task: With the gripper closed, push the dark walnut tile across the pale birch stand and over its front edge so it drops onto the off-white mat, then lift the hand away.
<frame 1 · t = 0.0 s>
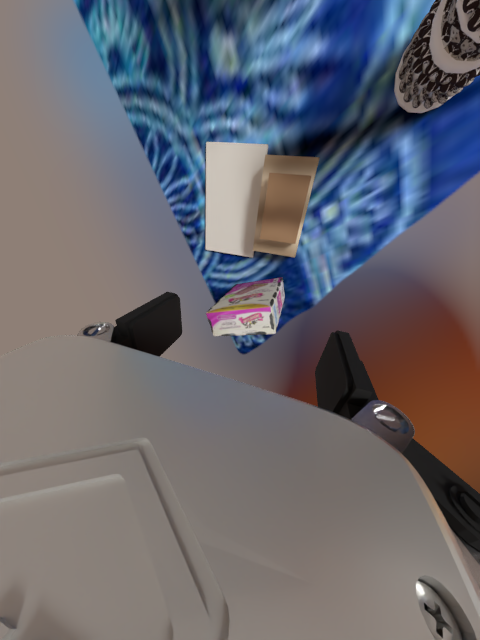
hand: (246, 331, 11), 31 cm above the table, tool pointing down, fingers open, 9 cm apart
off-white mat: (232, 205, 36), on the table
walnut tile: (284, 210, 31), point 4 cm above the table, touching birch stand
decorative candle: (434, 66, 23), on the table
candy bar box: (259, 289, 43), on the table
birch stand: (283, 211, 34), on the table
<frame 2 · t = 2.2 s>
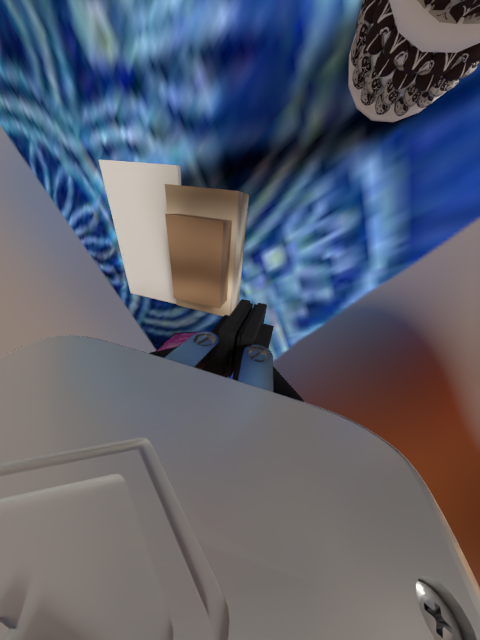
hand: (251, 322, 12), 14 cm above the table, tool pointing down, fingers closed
off-white mat: (151, 242, 27), on the table
walnut tile: (205, 260, 22), point 4 cm above the table, touching birch stand
decorative candle: (412, 43, 13), on the table
candy bar box: (203, 340, 34), on the table
birch stand: (214, 253, 25), on the table
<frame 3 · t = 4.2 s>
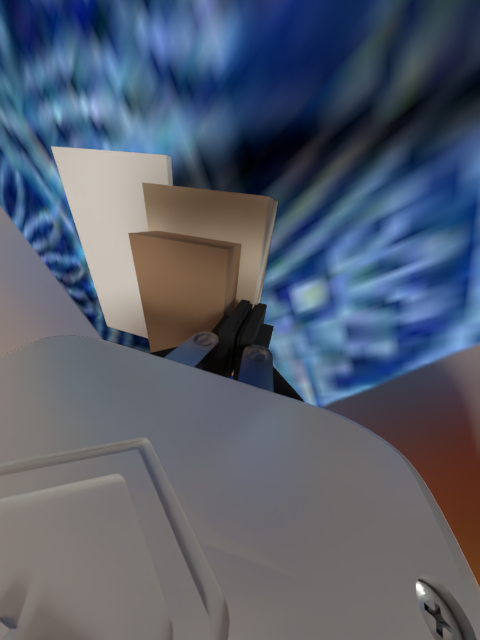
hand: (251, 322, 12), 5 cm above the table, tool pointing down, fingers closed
off-white mat: (132, 265, 19), on the table
walnut tile: (198, 299, 14), point 4 cm above the table, touching birch stand, gripper
birch stand: (220, 284, 17), on the table
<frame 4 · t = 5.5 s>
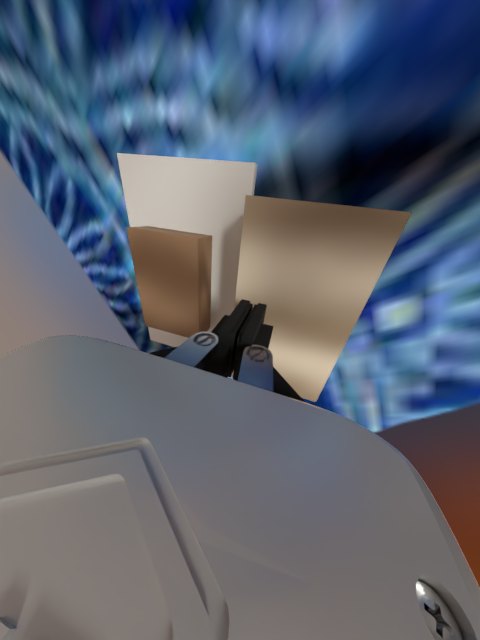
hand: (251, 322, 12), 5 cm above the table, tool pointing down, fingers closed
off-white mat: (189, 278, 18), on the table
walnut tile: (166, 290, 16), point 3 cm above the table, tilted 180°, touching off-white mat
birch stand: (291, 299, 16), on the table
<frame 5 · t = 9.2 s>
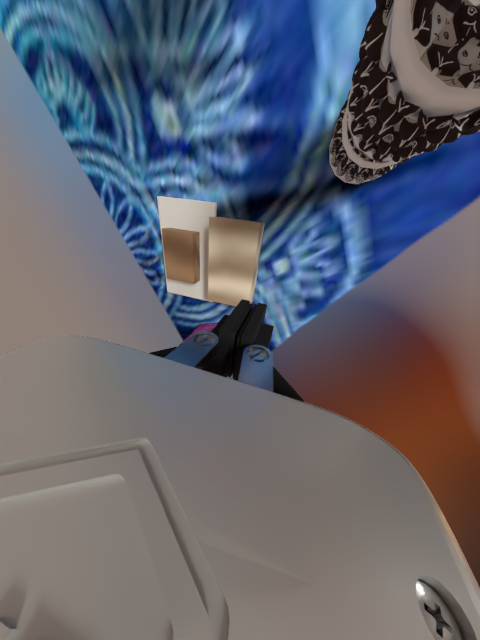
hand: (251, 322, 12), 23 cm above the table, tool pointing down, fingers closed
off-white mat: (189, 253, 36), on the table
walnut tile: (178, 257, 34), point 3 cm above the table, tilted 180°, touching off-white mat
decorative candle: (365, 143, 23), on the table
birch stand: (237, 262, 34), on the table
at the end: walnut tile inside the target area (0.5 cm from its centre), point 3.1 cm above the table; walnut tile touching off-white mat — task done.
